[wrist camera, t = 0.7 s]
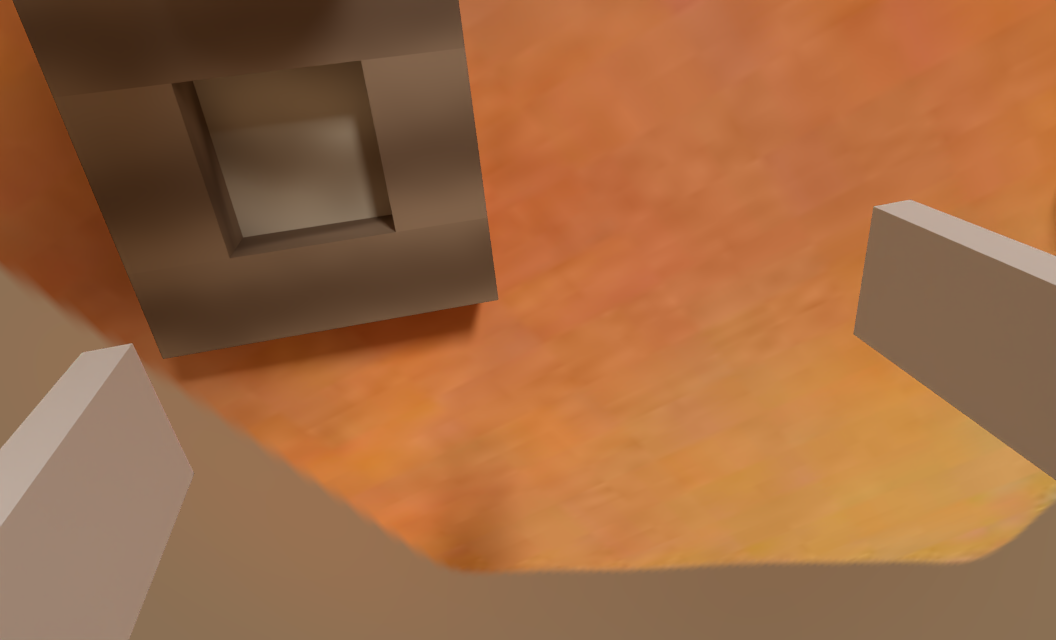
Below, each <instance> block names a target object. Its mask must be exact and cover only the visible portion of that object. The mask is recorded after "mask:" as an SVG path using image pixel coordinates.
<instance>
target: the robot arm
mask: <svg viewBox="0 0 1056 640" xmlns="http://www.w3.org/2000/svg"><path fill="white" fill-rule="evenodd" d="M854 335H855V336H857V337H858V338H860V339H861V340H862V341H864V342H865V343H866V344H868V345H869V346H871V347H872V348H873V349H875V350H876V351H878V352H879V353H880V354H882V355H883V356H884V357H886V358H887V359H889V360H890V361H891V362H893V363H894V364H896V365H897V366H898V367H900V368H901V369H902V370H904V371H905V372H907V373H908V374H909V375H911V376H912V377H914V378H915V379H916V380H918V381H919V382H920V383H922V384H923V385H925V386H926V387H927V388H929V389H930V390H932V391H933V392H934V393H936V394H937V395H939V396H940V397H941V398H943V399H944V400H945V401H947V402H948V403H950V404H951V405H952V406H954V407H955V408H957V409H958V410H959V411H961V412H962V413H963V414H965V415H966V416H968V417H969V418H970V419H972V420H973V421H975V422H976V423H977V424H979V425H980V426H981V427H983V428H984V429H986V430H987V431H988V432H990V433H991V434H993V435H994V436H995V437H997V438H998V439H999V440H1001V441H1002V442H1004V443H1005V444H1006V445H1008V446H1009V447H1011V448H1012V449H1013V450H1015V451H1016V452H1017V453H1019V454H1020V455H1022V456H1023V457H1024V458H1026V459H1027V460H1029V461H1030V462H1031V463H1033V464H1034V465H1035V466H1037V467H1038V468H1040V469H1041V470H1042V471H1044V472H1045V473H1047V474H1048V475H1049V476H1051V477H1052V478H1053V479H1055V480H1056V256H1054V255H1051V254H1049V253H1046V252H1044V251H1041V250H1039V249H1036V248H1033V247H1031V246H1028V245H1026V244H1023V243H1021V242H1018V241H1015V240H1013V239H1010V238H1008V237H1005V236H1003V235H1000V234H997V233H995V232H992V231H990V230H987V229H985V228H982V227H979V226H977V225H974V224H972V223H969V222H967V221H964V220H961V219H959V218H956V217H954V216H951V215H949V214H946V213H943V212H941V211H938V210H936V209H933V208H931V207H928V206H925V205H923V204H920V203H918V202H915V201H913V200H906V201H901V202H895V203H890V204H885V205H879V206H874V207H873V214H872V220H871V226H870V233H869V239H868V245H867V252H866V258H865V264H864V271H863V277H862V283H861V290H860V296H859V302H858V309H857V315H856V321H855V328H854ZM193 475H194V472H193V470H192V468H191V466H190V463H189V461H188V459H187V457H186V455H185V453H184V451H183V449H182V447H181V444H180V442H179V440H178V438H177V436H176V434H175V432H174V430H173V428H172V425H171V423H170V421H169V419H168V417H167V415H166V413H165V411H164V409H163V407H162V405H161V402H160V400H159V398H158V396H157V394H156V392H155V390H154V388H153V385H152V383H151V381H150V379H149V377H148V375H147V373H146V371H145V369H144V366H143V364H142V362H141V360H140V358H139V356H138V354H137V352H136V350H135V348H134V345H133V343H130V344H125V345H119V346H114V347H109V348H103V349H98V350H93V351H87V352H82V353H81V354H80V355H79V357H78V358H77V359H76V360H75V361H74V362H73V363H72V365H71V366H70V367H69V368H68V369H67V371H66V372H65V373H64V374H63V375H62V376H61V378H60V379H59V380H58V381H57V382H56V384H55V385H54V386H53V387H52V388H51V390H50V391H49V392H48V393H47V394H46V395H45V397H44V398H43V399H42V400H41V401H40V403H39V404H38V405H37V406H36V407H35V409H34V410H33V411H32V412H31V413H30V415H29V416H28V417H27V418H26V419H25V420H24V422H23V423H22V424H21V425H20V426H19V427H18V429H17V430H16V431H15V432H14V433H13V435H12V436H11V437H10V438H9V439H8V440H7V442H6V443H5V444H4V445H3V446H2V448H1V449H0V640H129V637H130V635H131V633H132V630H133V628H134V625H135V623H136V620H137V618H138V615H139V612H140V610H141V607H142V605H143V602H144V599H145V597H146V595H147V592H148V590H149V587H150V584H151V582H152V579H153V577H154V574H155V572H156V569H157V567H158V564H159V562H160V559H161V557H162V554H163V552H164V549H165V547H166V544H167V541H168V539H169V536H170V534H171V531H172V528H173V526H174V524H175V521H176V519H177V516H178V514H179V511H180V508H181V506H182V503H183V501H184V498H185V496H186V493H187V491H188V488H189V486H190V483H191V481H192V478H193Z"/></svg>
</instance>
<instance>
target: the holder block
mask: <svg viewBox="0 0 1056 640" xmlns="http://www.w3.org/2000/svg"><path fill="white" fill-rule="evenodd" d="M13 3H14V5H15V7H16V10H17V12H18V14H19V17H20V19H21V22H22V24H23V26H24V29H25V31H26V33H27V36H28V38H29V41H30V43H31V45H32V48H33V50H34V53H35V55H36V57H37V60H38V62H39V64H40V67H41V69H42V72H43V74H44V76H45V79H46V81H47V84H48V86H49V88H50V91H51V93H52V95H53V98H54V100H55V103H56V105H57V107H58V110H59V112H60V115H61V117H62V119H63V122H64V124H65V126H66V129H67V131H68V134H69V136H70V138H71V141H72V143H73V145H74V148H75V150H76V153H77V155H78V157H79V160H80V162H81V165H82V167H83V169H84V172H85V174H86V176H87V179H88V181H89V184H90V186H91V188H92V191H93V193H94V196H95V198H96V200H97V203H98V205H99V207H100V210H101V212H102V215H103V217H104V219H105V222H106V224H107V227H108V229H109V231H110V234H111V236H112V238H113V241H114V243H115V246H116V248H117V250H118V253H119V255H120V258H121V260H122V262H123V265H124V267H125V269H126V272H127V274H128V277H129V279H130V281H131V284H132V286H133V288H134V291H135V293H136V296H137V298H138V300H139V303H140V305H141V308H142V310H143V312H144V315H145V317H146V319H147V322H148V324H149V327H150V329H151V331H152V334H153V336H154V339H155V341H156V343H157V346H158V348H159V350H160V353H161V355H162V358H163V359H166V358H171V357H177V356H183V355H188V354H194V353H200V352H205V351H211V350H217V349H222V348H228V347H234V346H239V345H245V344H251V343H256V342H262V341H268V340H273V339H279V338H285V337H290V336H296V335H302V334H307V333H313V332H319V331H324V330H330V329H336V328H341V327H347V326H353V325H358V324H364V323H370V322H375V321H381V320H387V319H392V318H398V317H404V316H409V315H415V314H421V313H426V312H432V311H438V310H443V309H449V308H455V307H460V306H466V305H472V304H477V303H483V302H489V301H494V300H498V293H497V286H496V278H495V271H494V263H493V256H492V248H491V241H490V233H489V226H488V218H487V211H486V203H485V196H484V188H483V181H482V173H481V166H480V158H479V151H478V143H477V136H476V128H475V121H474V113H473V106H472V98H471V91H470V83H469V76H468V68H467V61H466V53H465V46H464V38H463V31H462V23H461V16H460V9H459V1H458V0H13Z"/></svg>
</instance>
